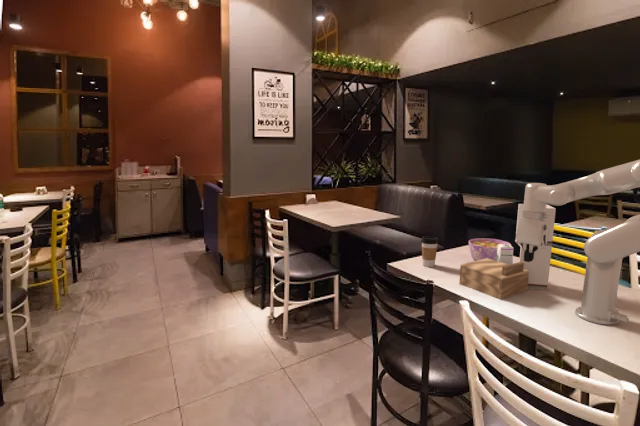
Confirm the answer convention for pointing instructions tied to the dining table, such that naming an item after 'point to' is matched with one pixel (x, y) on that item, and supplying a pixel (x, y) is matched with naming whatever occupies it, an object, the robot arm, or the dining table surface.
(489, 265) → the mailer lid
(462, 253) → the dining table surface
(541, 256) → the tall white box
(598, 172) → the robot arm
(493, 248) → the bowl of food
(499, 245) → the syrup box
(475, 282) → the wooden box
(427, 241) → the coffee cup
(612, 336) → the dining table surface
